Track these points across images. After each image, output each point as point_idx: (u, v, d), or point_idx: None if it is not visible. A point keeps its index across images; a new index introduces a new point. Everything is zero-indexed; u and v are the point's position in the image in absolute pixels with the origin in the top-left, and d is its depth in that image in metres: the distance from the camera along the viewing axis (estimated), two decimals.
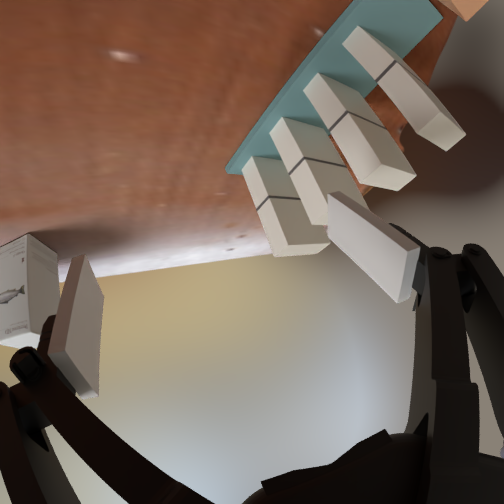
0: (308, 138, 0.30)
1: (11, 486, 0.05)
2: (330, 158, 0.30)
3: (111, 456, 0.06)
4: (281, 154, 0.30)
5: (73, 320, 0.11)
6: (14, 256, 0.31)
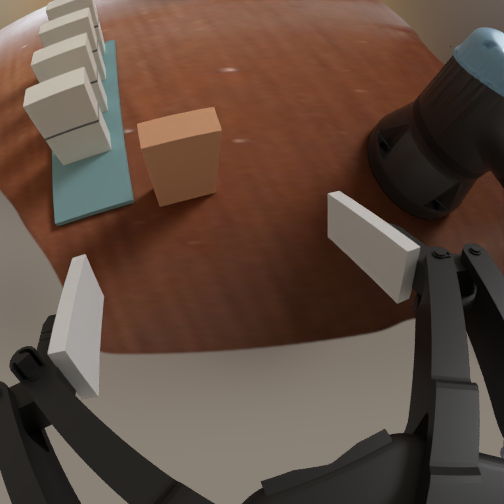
0: None
1: (11, 486, 0.05)
2: None
3: (111, 456, 0.06)
4: (100, 53, 0.31)
5: (73, 320, 0.11)
6: None
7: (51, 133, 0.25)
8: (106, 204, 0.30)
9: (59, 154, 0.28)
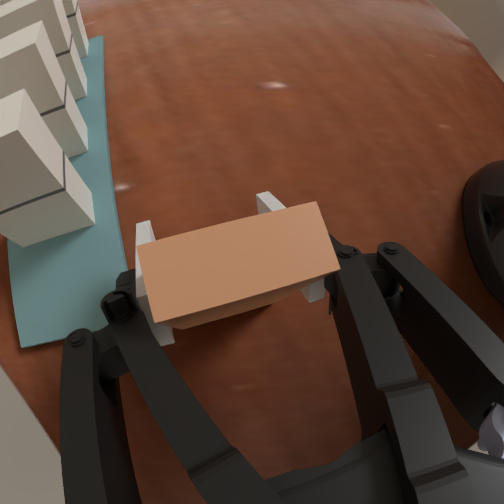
0: None
1: (66, 434, 0.06)
2: None
3: (177, 409, 0.07)
4: (78, 55, 0.19)
5: None
6: None
7: None
8: (94, 325, 0.18)
9: (12, 236, 0.16)
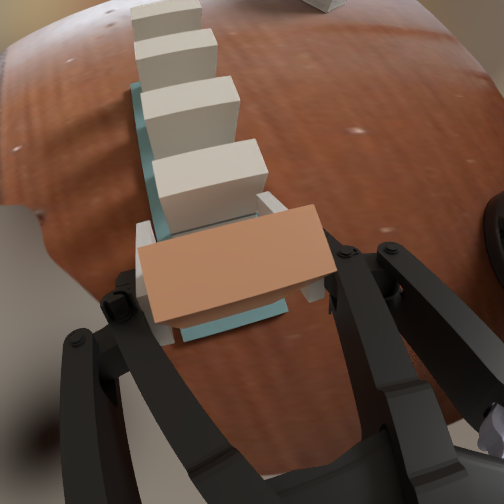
0: None
1: (66, 434, 0.06)
2: None
3: (177, 409, 0.07)
4: None
5: None
6: None
7: (185, 228, 0.21)
8: (254, 317, 0.26)
9: None
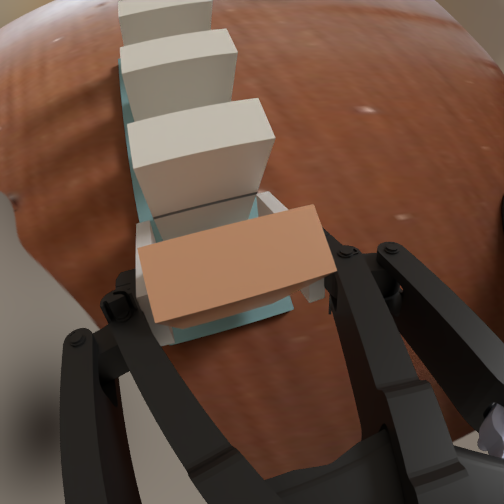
0: None
1: (66, 434, 0.06)
2: None
3: (177, 409, 0.07)
4: None
5: None
6: None
7: (169, 210, 0.17)
8: (254, 316, 0.22)
9: (167, 234, 0.20)
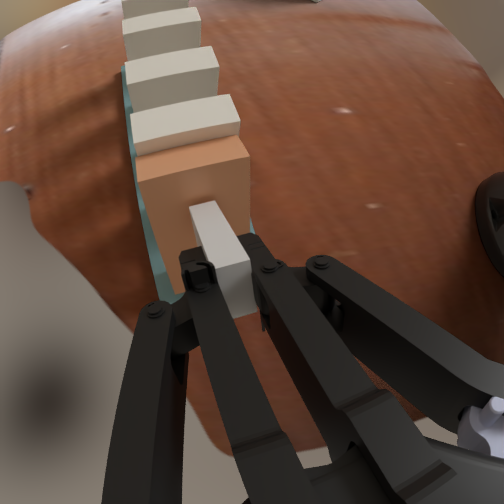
0: None
1: (124, 405, 0.07)
2: None
3: (237, 384, 0.08)
4: None
5: None
6: None
7: None
8: None
9: None
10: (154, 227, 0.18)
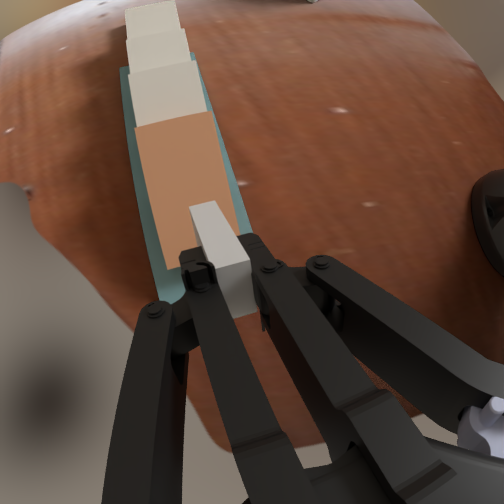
0: None
1: (124, 405, 0.07)
2: None
3: (237, 384, 0.08)
4: None
5: None
6: None
7: (148, 122, 0.24)
8: None
9: None
10: (145, 171, 0.22)
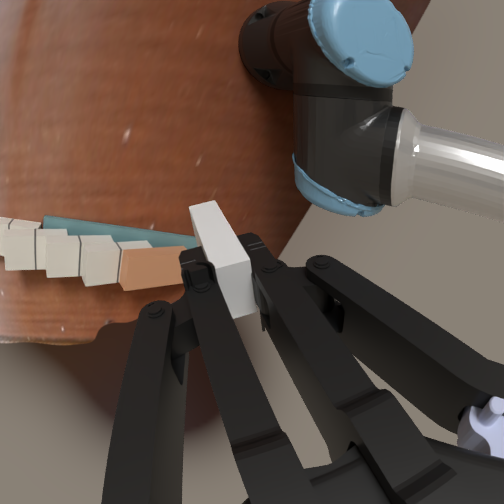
0: None
1: (124, 405, 0.07)
2: (40, 259, 0.42)
3: (237, 384, 0.08)
4: (48, 229, 0.43)
5: None
6: None
7: (114, 277, 0.47)
8: None
9: None
10: (144, 287, 0.49)
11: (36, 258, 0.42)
